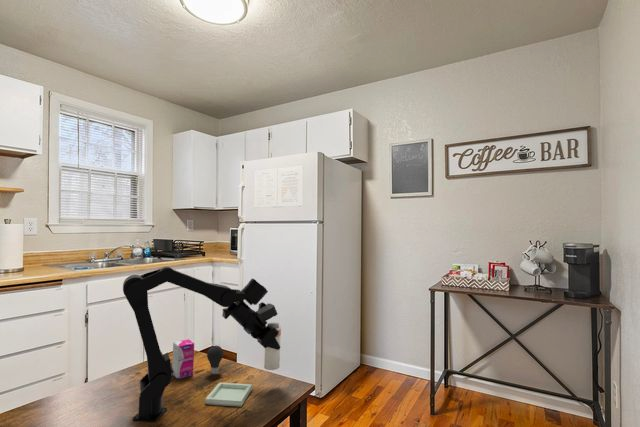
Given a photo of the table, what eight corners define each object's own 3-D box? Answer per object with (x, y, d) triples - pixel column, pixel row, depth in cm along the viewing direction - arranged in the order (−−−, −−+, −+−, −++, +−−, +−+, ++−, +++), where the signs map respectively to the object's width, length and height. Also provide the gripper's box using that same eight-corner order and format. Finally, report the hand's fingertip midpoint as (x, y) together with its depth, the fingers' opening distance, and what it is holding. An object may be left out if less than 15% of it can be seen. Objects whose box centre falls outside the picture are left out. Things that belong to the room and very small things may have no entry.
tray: (241, 406, 102) (241, 401, 102) (205, 404, 103) (205, 398, 103) (251, 389, 112) (252, 384, 113) (219, 387, 114) (219, 382, 114)
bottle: (277, 370, 111) (279, 326, 112) (262, 369, 112) (263, 325, 113) (281, 364, 117) (282, 322, 117) (266, 363, 117) (267, 321, 118)
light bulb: (220, 377, 121) (220, 348, 121) (204, 377, 121) (204, 348, 121) (224, 371, 126) (225, 343, 127) (209, 370, 126) (210, 343, 127)
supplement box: (176, 380, 118) (177, 346, 119) (171, 374, 123) (172, 341, 123) (193, 375, 122) (194, 342, 123) (187, 370, 127) (188, 338, 127)
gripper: (273, 302, 105) (304, 334, 110) (253, 291, 122) (281, 320, 126) (247, 331, 101) (281, 363, 106) (230, 316, 117) (260, 345, 122)
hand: (276, 346), depth 115 cm, fingers closed on bottle, 5 cm apart
